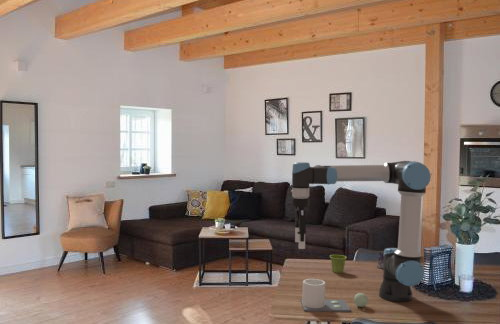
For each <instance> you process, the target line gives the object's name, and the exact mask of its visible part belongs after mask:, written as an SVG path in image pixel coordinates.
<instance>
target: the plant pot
mask: <svg viewBox="0 0 500 324" xmlns="http://www.w3.org/2000/svg"><path fill="white" fill-rule="evenodd" d="M329 258H330V262H331V271H332V272H333V273H335V274H343V273H344V270H345V264H346V260H347V258H348V257H347V255H343V254H330V255H329Z"/></svg>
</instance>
